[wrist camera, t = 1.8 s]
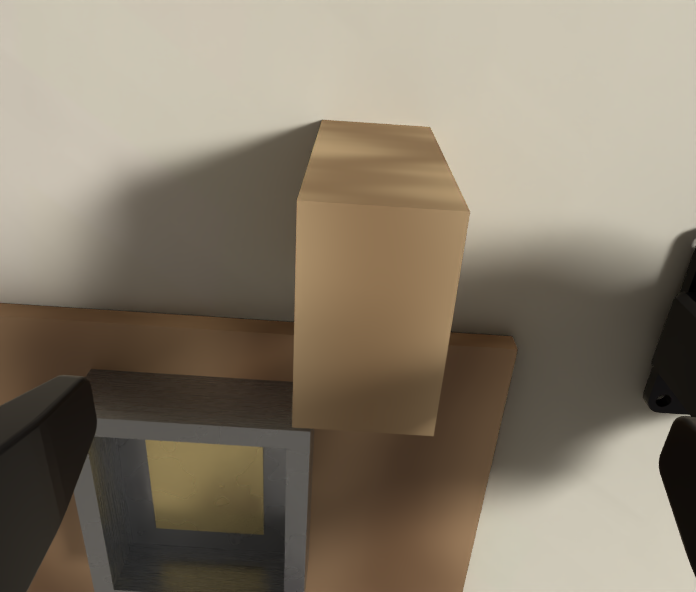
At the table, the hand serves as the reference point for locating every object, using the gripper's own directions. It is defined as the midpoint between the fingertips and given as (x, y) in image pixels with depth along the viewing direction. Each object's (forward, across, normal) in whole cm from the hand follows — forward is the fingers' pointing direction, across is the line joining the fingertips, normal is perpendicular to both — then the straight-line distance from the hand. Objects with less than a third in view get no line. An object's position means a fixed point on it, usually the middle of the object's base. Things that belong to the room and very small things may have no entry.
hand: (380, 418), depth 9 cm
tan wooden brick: (+10, 0, 0) cm, 10 cm away
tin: (+9, +5, +10) cm, 14 cm away
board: (+10, +4, +11) cm, 15 cm away
